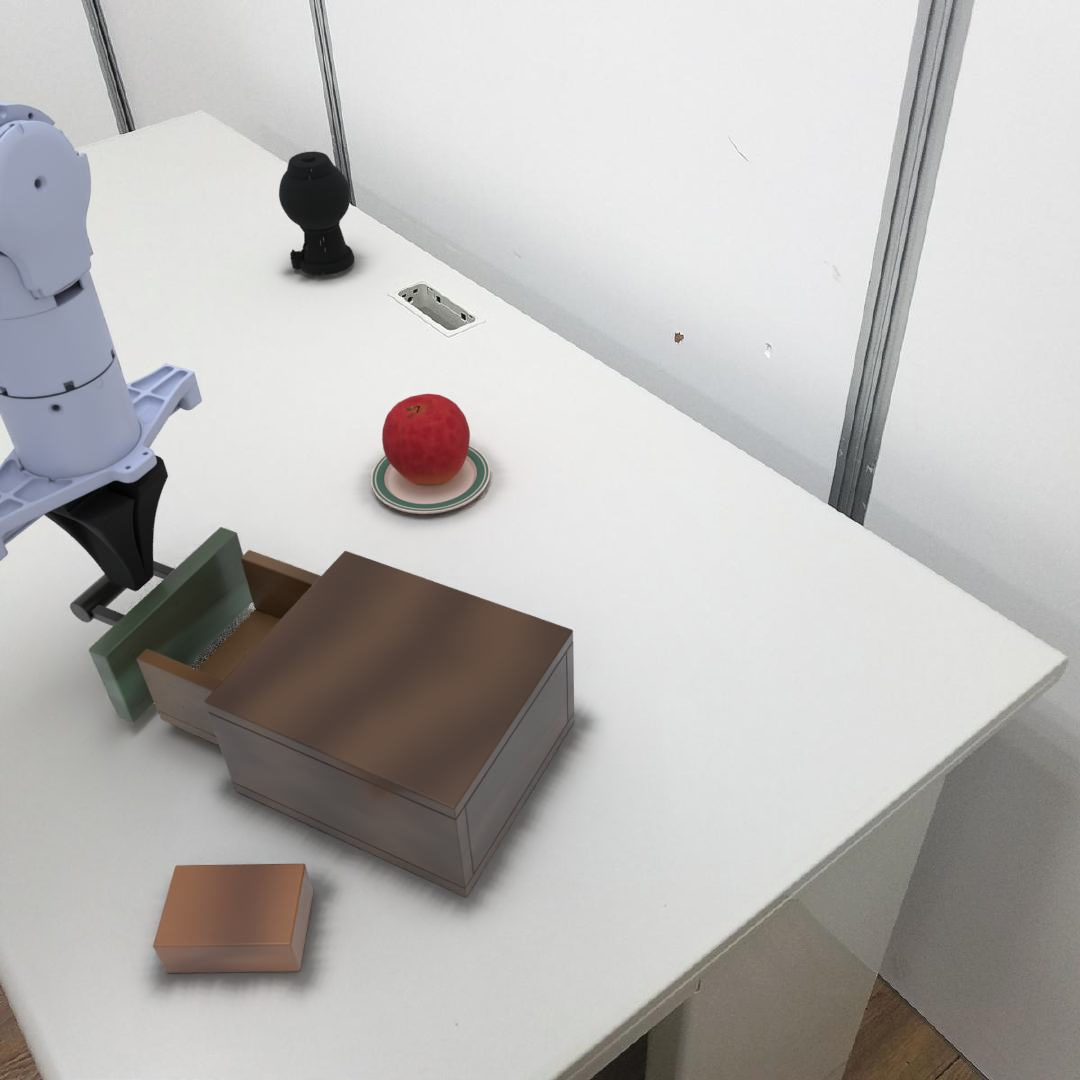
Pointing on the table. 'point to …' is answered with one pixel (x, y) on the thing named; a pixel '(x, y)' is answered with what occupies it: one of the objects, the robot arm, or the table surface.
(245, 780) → the cabinet
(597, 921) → the table surface
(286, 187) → the gumball machine
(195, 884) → the brown rectangular block
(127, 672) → the drawer
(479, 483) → the red apple on plate
